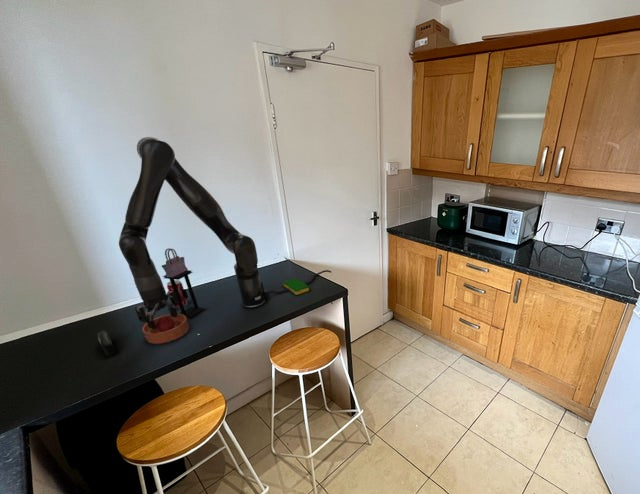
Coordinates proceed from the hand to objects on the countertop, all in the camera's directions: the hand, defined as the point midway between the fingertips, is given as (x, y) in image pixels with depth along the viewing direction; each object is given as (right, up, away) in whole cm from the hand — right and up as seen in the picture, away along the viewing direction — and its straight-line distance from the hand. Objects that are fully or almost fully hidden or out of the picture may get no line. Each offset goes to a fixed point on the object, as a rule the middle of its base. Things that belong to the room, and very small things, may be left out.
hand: (164, 322), depth 122 cm
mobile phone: (-17, -9, -5) cm, 20 cm away
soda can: (-9, +5, +23) cm, 25 cm away
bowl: (0, -5, +2) cm, 5 cm away
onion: (0, -4, +2) cm, 5 cm away
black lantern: (-1, +2, +17) cm, 17 cm away
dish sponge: (+39, +13, +38) cm, 56 cm away
